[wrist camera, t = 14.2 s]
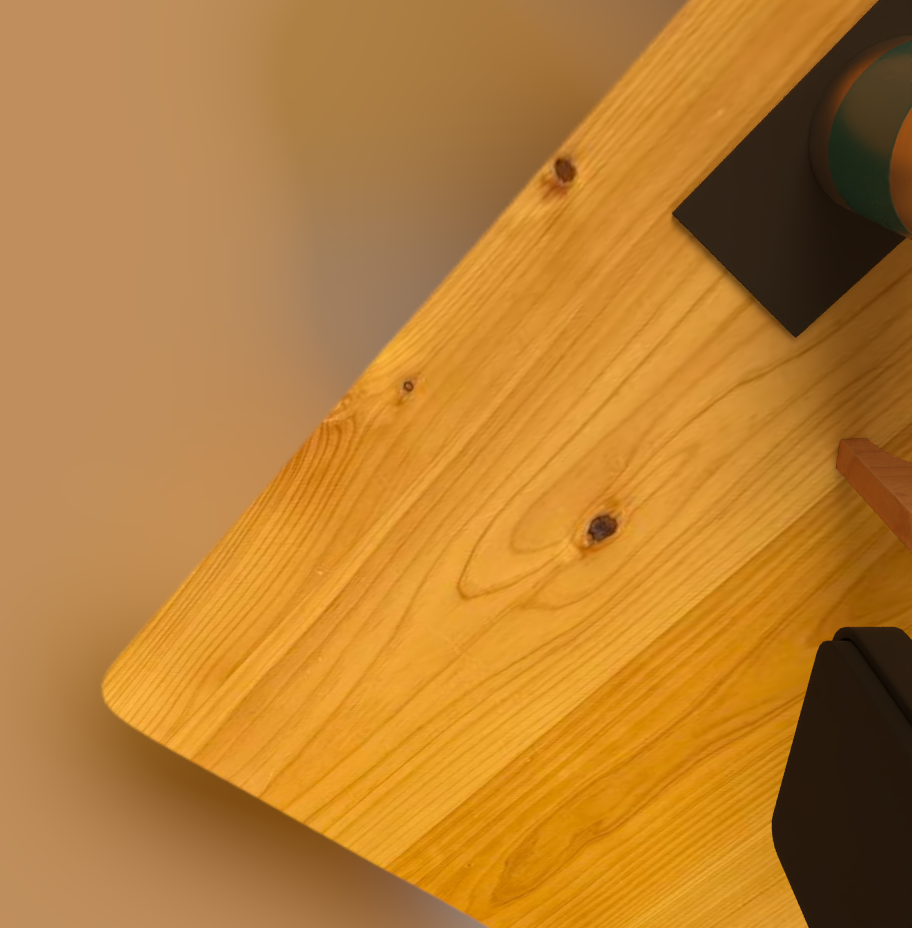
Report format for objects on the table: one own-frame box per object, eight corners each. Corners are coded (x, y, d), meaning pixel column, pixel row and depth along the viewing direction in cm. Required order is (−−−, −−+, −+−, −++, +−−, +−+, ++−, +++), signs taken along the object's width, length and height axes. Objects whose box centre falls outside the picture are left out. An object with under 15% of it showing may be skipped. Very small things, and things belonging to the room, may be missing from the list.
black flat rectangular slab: (793, 335, 38) (795, 338, 38) (671, 213, 36) (673, 214, 36) (1126, 32, 33) (1132, 32, 33) (1011, -137, 31) (1016, -138, 30)
